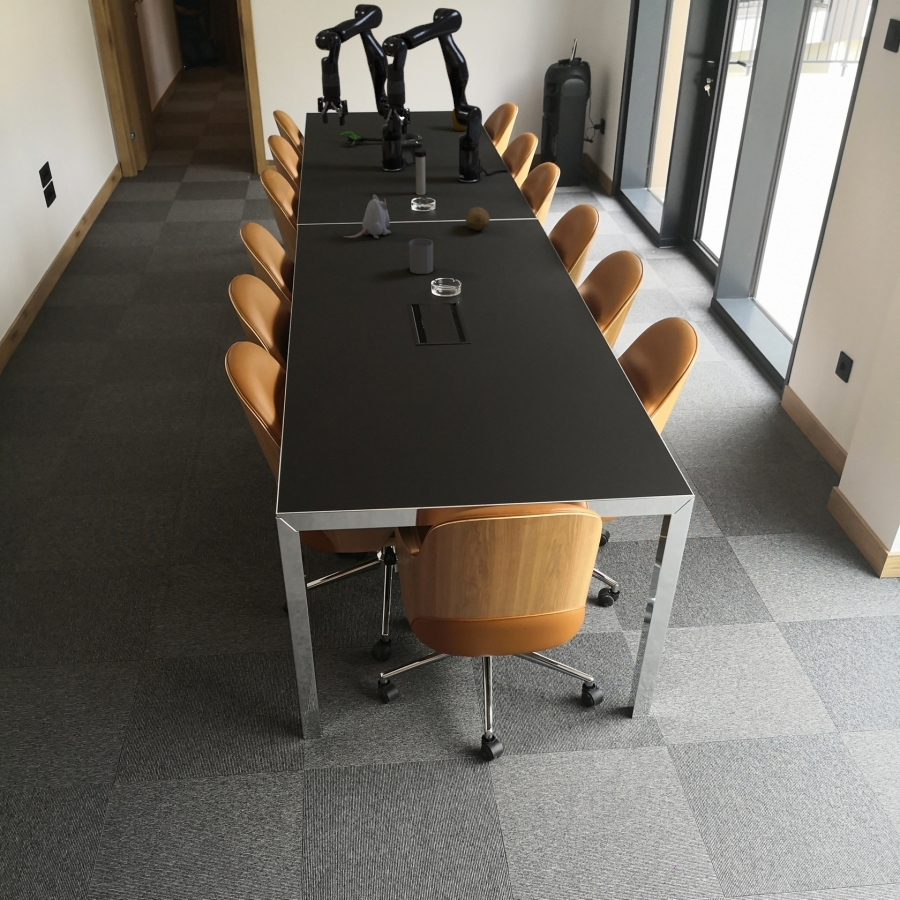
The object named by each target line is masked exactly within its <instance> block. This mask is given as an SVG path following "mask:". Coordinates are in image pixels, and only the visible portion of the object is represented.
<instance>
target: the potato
mask: <svg viewBox="0 0 900 900" xmlns="http://www.w3.org/2000/svg"><path fill="white" fill-rule="evenodd" d="M490 220H491V219H490V214H489V212H488V211H487V210H485V209H484V208H483V207H480V206H474V207H472V208H470V209H469V210H468V211H467V213H466V215H465V224H466V225H467V227H468V228H469V229H471V230H474V231H482V230H484V229H485V228H487V227H488V225H489V222H490Z"/></svg>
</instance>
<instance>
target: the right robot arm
mask: <svg viewBox="0 0 900 900" xmlns="http://www.w3.org/2000/svg"><path fill="white" fill-rule="evenodd" d="M462 16H463V15H462V14H461V12H460V11H459V10H457V9H454V8H450V7H449V8H448V7H438V8H436V9H435V11H434V13H433V16H432V22H428V23H424V24H420V25H416V26H414V27H412V28H410V29H407V30H406V31H404V32H401V33H400V32H399V33H396V34H392V35H389V36H388V37H386V38H385V39H384V40H383V41H382V44H381V47H382V51H383V53H384V54H385V55H387V57H390V58H393V59H392V62H391V63H388V64H389V65H388V66H387V79H386V95H387V103H388V104H385V105H384V117H383V120H385V121H386V122H387V124H388V131H393V119H394V117H395V118H398V120H399V121H400V122H401V124H402V125H401V135H403V136H404V135H407V133H408V125H409V124H411V110H410V108H409V107H408V108H405V104H406V83H405V66H406V60H407V57H408V56H407V55H408V51H411V50H414V49H416V48H418V47H420V46H422V45H424V44H425V43H428V42H431V41H432V40H435V39H437V40H438V44H439V46H440V50H441V53H442V57H443V62H444V66H445V71H446V75H447V79H448V82H449V87H450V92H451V96H452V102H453V109H454V111H455V117H456V120H457V122H458V124H460V125H462V126H466V127H467V129H466V130H465V133H463V134H460V135H459V137H458V181H459V182H460V183H464V184H465V183H466V184H471V183H472V184H473V183H477V182H479V181H480V180H481V174H483V172H484V174H485V175H486V176H492V175H493V174H496V173H505V172H508V168H506V169H496V170H492V171H491V172H487V170H486V169H485V168H483V165H481V158H480V139H481V135H482V127H483V126H482V125H483V113H482V110H481V108H480V107H479V106H477V105H472V104H469V103H468V100H467V96H466V90H467V86H468V83H469V80H470V72H469V68H468V63H467V60H466V57H465V55H464V54H463V52H462V51H461V50H460V48H459V46H458V45H457V44H456V41H455V40H454V36H453V34H455V33H457V32H458V31H459V30H460V29H461V27H462V24H463V17H462ZM386 114H387V116H386Z"/></svg>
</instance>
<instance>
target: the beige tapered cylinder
mask: <svg viewBox="0 0 900 900" xmlns="http://www.w3.org/2000/svg"><path fill="white" fill-rule="evenodd" d="M414 157H415V160H416V163H415V195H418V196H424V195H426V194H427V191H426V190H427V189H426V188H427V187H426V181H427V180H426V156H424V157H416V156H415V155H414Z"/></svg>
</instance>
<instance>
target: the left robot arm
mask: <svg viewBox="0 0 900 900" xmlns="http://www.w3.org/2000/svg"><path fill="white" fill-rule="evenodd" d="M353 12H354V13H353V14H354V16H353V17H354V18H350V19H346V20H343V21H341V22H339V23H338V24H336V25H335V26H332V27H328V28H325V29H322V30H320V31H318V32H317V34H316V35H315V38H314V43H315V46H316V47H317V49H318V50H320V51H327V52H328V55H327V56H323V57H322V58H321V60H320V67H321V88H322V96H320V97H317V100H316V101H317V112H318V113H320V114H321V117H322V122H323V124H324V125H326V124H328V123H329V119H328V116H329V115H328V112H329V110H330V111H335V113H337V115H338V116H339V117H338V118H339V126H340V127H342V126H345V123H346V122H345V121H346V120H345V116H348V115H349V107H348V100H347V99H344V100H343V99H341V95H342V93H341V92H342V91H341V79H340V71H339V59H340V53H341V48H342V44H344V43H346V42H348V41H349V40H351V39H352V38H354V37H356V36H357V35H359V37H360V40H361V43H362V47H363V49H364V54H365V57H366V63H367V67H368V71H369V75H370V78H371V84H372V87H373V92H374V100H375V106H376V111H377V114H378V115H379V116H381V118H382V117H383V118H384V105H385V104H388V103H387V91H386V89H385V88H386V87H385V85H386V83H387V66H388V65H389V64H390V63H389V59H388V56H387V55H385V54H384V53H383V51H382V44H381V43H380V42H379V41H378V40H377V39H376V37H375V36H374V34H373V31H372V30H373V29H377V28H379V27H380V26H381V25H382V23H383V17H384V16H383V11H382V8H381V7H380V6H379V5H376V4H369V3H358V4H357V5H356V6H355V8H354V11H353ZM386 116H387V114H386ZM401 125H402V124H401V122H400V121H399V120H398V118H395V117H394V119H393V131H388V123H386V124H384V125H383V124H382V126H381V138H382V142H381V151H382V152H381V153H382V160H381V164H382V170H383V171H385V172H400V171H402V170H403V166H405V165H407V166H412V165H414V164H416V159H415V160H413V161H411V162H407V160H406V157H404V156H403V148H402V130H401Z"/></svg>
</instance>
